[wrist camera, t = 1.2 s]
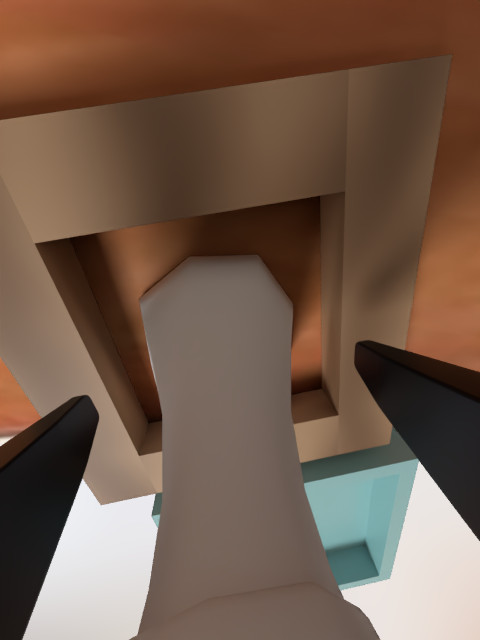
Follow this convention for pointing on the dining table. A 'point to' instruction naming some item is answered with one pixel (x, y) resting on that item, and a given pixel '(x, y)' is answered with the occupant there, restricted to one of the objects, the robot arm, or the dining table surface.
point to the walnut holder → (207, 198)
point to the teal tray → (357, 508)
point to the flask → (233, 467)
